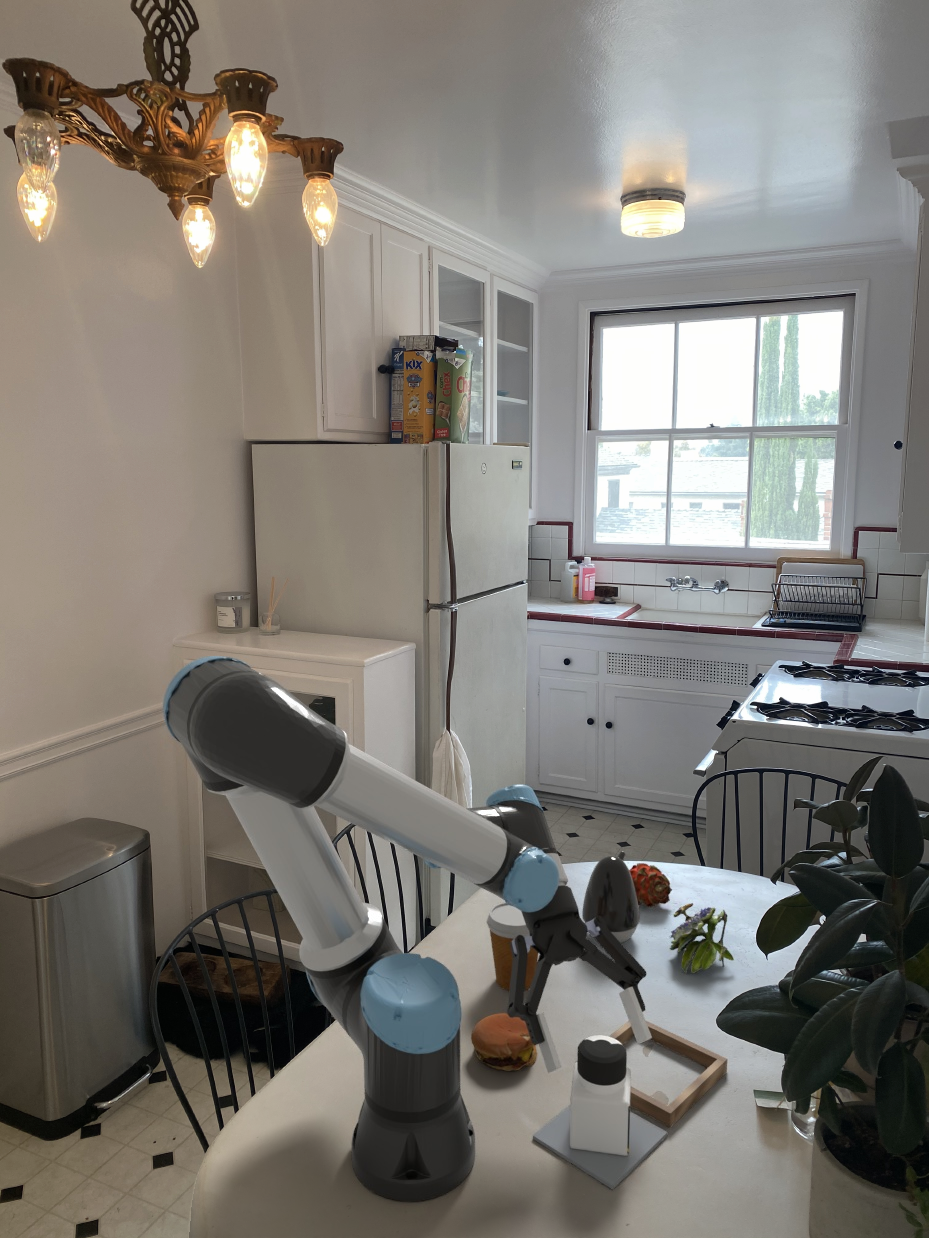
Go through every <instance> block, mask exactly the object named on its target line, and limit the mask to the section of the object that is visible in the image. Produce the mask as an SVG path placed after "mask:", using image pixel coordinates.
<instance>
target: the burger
mask: <svg viewBox="0 0 929 1238" xmlns="http://www.w3.org/2000/svg"><path fill="white" fill-rule="evenodd" d="M470 1036H471V1038H470V1040H471V1044H472V1045H473V1049H474V1050H473V1051H474V1053H475V1055H476V1057H477V1058H478V1060H480V1061H481V1063H483V1064H485V1065H487V1066H489V1067H490V1068H493V1069H496V1070H502V1071H506V1072H511V1071H519V1070H521V1068H523V1067H525V1066H527V1067H530V1066H532V1065H533V1064H535V1062H536V1060H537V1057H538V1050H537V1047H536V1046H537V1045H533V1043H532V1042H531V1039H530V1035H529V1032H528V1029H527V1026H526V1023H525V1021H522V1020H521V1019H520V1018H519V1017H513V1018H511V1017H509V1016H508V1014H507V1012H505V1013H504V1012H503V1013H502V1012H501V1013H494V1014H491V1015H488V1016H485V1017H483V1018H482V1019H481V1020H479V1021H478V1022H477V1023H476V1024H475V1026H474V1027H473V1029H472V1031H471V1035H470Z"/></svg>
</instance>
